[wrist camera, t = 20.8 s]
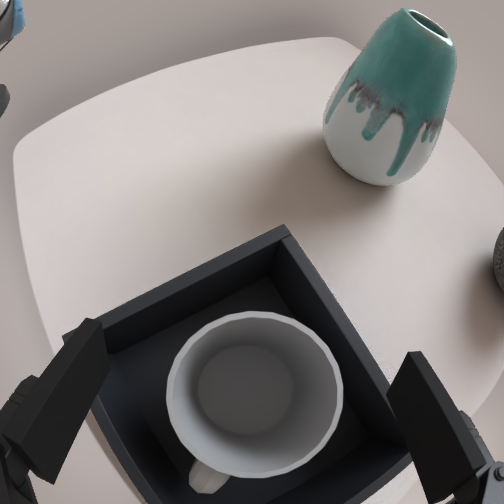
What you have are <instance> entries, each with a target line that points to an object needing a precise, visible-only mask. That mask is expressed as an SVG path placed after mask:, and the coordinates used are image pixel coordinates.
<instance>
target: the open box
mask: <svg viewBox="0 0 504 504" xmlns="http://www.w3.org/2000/svg"><path fill="white" fill-rule="evenodd" d="M247 311H258V312H273V313H276V314H279V315H282V316H286V317H289V318H292V319H295V320H296V321H298V322H300V323H301V324H303V325H304V326H306V327H308V328H309V329H311V330H312V331H314V332H315V334H316V335H317V336H318V337H319V338H320V339H321V340H322V341H323V342H324V343H325V344H326V345H327V346H328V347H329V349H330V351H331V353H332V355H333V357H334V358H335V360H336V362H337V364H338V366H339V370H340V375H341V379H342V383H343V407H342V411H341V414H340V417H339V420H338V424H337V427H336V429H335V431H334V432H333V434H332V435H331V437H330V438H329V440H328V441H327V443H326V444H325V446H324V447H323V448H322V449H321V450H320V451H319V452H318V453H317V454H316V455H315V456H313V457H312V458H311V459H310V460H309V461H308V462H306V463H305V464H303V465H301V466H299V467H297V468H295V469H293V470H291V471H289V472H287V473H284V474H280V475H275V476H271V477H267V478H240V477H236V476H233V475H231V476H230V477H229V478H228V480H227V481H226V483H225V484H224V485H223V486H222V487H220V488H219V489H218V490H217V491H216V492H214V493H213V494H209V493H197V492H196V491H195V490H194V489H193V488H192V487H191V486H190V485H189V473H190V470H191V468H192V466H193V464H194V461H195V460H196V457H195V456H194V455H193V454H192V453H191V452H190V451H189V450H188V449H187V448H186V447H185V446H184V445H183V444H182V443H181V441H180V439H179V437H178V435H177V434H176V432H175V430H174V428H173V426H172V424H171V422H170V417H169V412H168V408H167V403H166V393H167V381H168V376H169V373H170V371H171V368H172V365H173V363H174V360H175V357H176V356H177V354H178V353H179V352H180V350H181V349H182V348H183V346H184V345H185V343H186V342H187V341H188V339H189V338H190V337H192V336H193V335H194V334H195V333H197V332H198V331H199V330H200V329H202V328H203V327H204V326H205V325H207V324H209V323H211V322H213V321H215V320H218V319H220V318H222V317H224V316H227V315H230V314H236V313H242V312H247ZM94 320H98V321H101V322H102V328H103V334H104V339H105V344H106V350H107V354H108V359H109V364H110V368H111V370H110V372H109V373H108V375H107V377H106V379H105V381H104V383H103V384H102V386H101V388H100V390H99V392H98V394H97V396H96V398H95V400H94V402H93V403H92V405H91V407H90V408H91V410H92V412H93V414H94V416H95V418H96V420H97V422H98V424H99V426H100V428H101V430H102V432H103V434H104V436H105V437H106V439H107V441H108V443H109V445H110V446H111V448H112V450H113V452H114V453H115V455H116V457H117V458H118V460H119V462H120V463H121V465H122V466H123V468H124V470H125V471H126V473H127V474H128V476H129V477H130V479H131V480H132V482H133V483H134V485H135V486H136V488H137V489H138V491H139V492H140V493H141V495H142V496H143V498H144V499H145V500H146V502H147V503H148V504H360V503H362V502H363V501H365V500H366V499H367V498H369V497H370V496H371V495H373V494H374V493H375V492H377V491H378V490H379V489H381V488H382V487H383V486H384V485H386V484H387V483H388V482H389V481H391V480H392V479H393V478H394V477H395V476H397V475H398V474H399V473H400V472H401V471H402V470H403V469H405V468H406V467H407V466H408V465H409V464H410V463H411V462H412V461H413V460H412V457H411V454H410V452H409V449H408V447H407V444H406V442H405V439H404V437H403V434H402V432H401V429H400V427H399V424H398V422H397V420H396V417H395V415H394V413H393V410H392V408H391V405H390V403H389V401H388V399H387V396H386V393H387V391H388V389H389V388H390V384H389V382H388V381H387V379H386V377H385V376H384V374H383V372H382V371H381V369H380V368H379V366H378V364H377V363H376V361H375V359H374V358H373V356H372V355H371V353H370V351H369V350H368V348H367V347H366V345H365V343H364V342H363V340H362V339H361V337H360V336H359V334H358V332H357V331H356V329H355V328H354V326H353V325H352V323H351V322H350V320H349V318H348V317H347V315H346V314H345V312H344V311H343V309H342V308H341V306H340V305H339V303H338V302H337V300H336V299H335V297H334V296H333V294H332V293H331V291H330V290H329V288H328V287H327V285H326V284H325V282H324V281H323V279H322V278H321V276H320V275H319V273H318V272H317V270H316V269H315V267H314V266H313V264H312V263H311V262H310V260H309V259H308V257H307V256H306V254H305V253H304V251H303V250H302V248H301V247H300V246H299V244H298V243H297V241H296V240H295V238H294V237H293V236H292V235H291V233H290V231H289V230H288V228H287V227H286V226H285V224H283V225H281V226H279V227H277V228H275V229H272V230H270V231H268V232H266V233H264V234H262V235H260V236H258V237H256V238H254V239H252V240H250V241H248V242H246V243H244V244H242V245H240V246H238V247H236V248H234V249H232V250H230V251H228V252H226V253H224V254H222V255H220V256H218V257H216V258H214V259H212V260H210V261H208V262H206V263H204V264H202V265H200V266H198V267H196V268H194V269H192V270H190V271H188V272H186V273H184V274H182V275H180V276H178V277H176V278H174V279H172V280H170V281H168V282H166V283H164V284H162V285H160V286H158V287H156V288H154V289H152V290H150V291H148V292H146V293H144V294H142V295H140V296H138V297H136V298H134V299H132V300H130V301H128V302H126V303H125V304H123V305H121V306H119V307H117V308H115V309H113V310H111V311H109V312H107V313H105V314H103V315H101V316H99V317H97V318H95V319H94ZM76 329H77V328H76ZM76 329H74V330H72V331H70V332H68V333H66V334H64V335H62V338H63V341H64V344H65V343H66V342H67V341H68V339H69V338H70V337H71V336H72V334H73V333H74V332H75V331H76Z"/></svg>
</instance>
